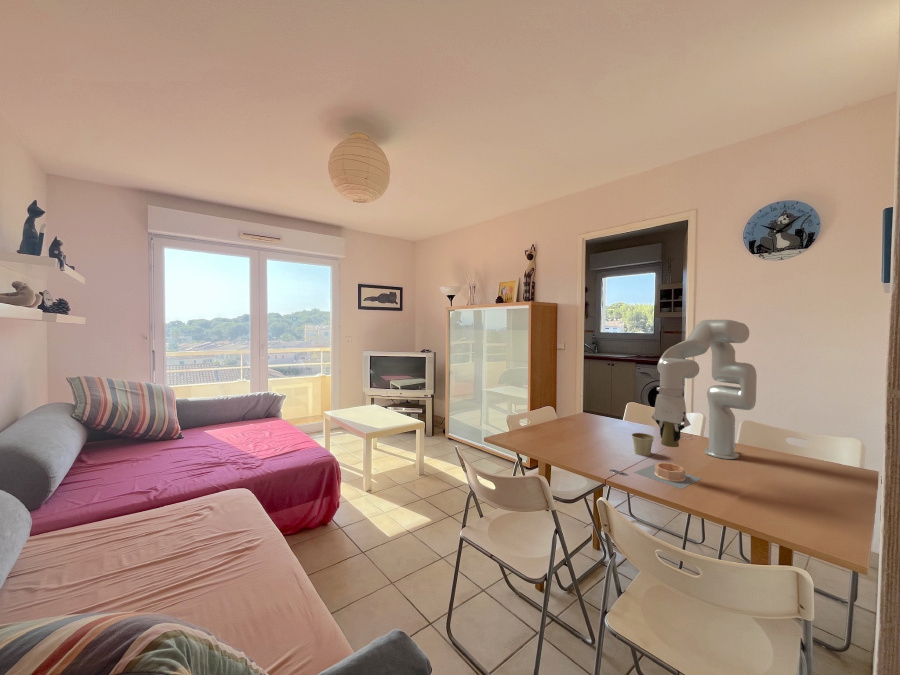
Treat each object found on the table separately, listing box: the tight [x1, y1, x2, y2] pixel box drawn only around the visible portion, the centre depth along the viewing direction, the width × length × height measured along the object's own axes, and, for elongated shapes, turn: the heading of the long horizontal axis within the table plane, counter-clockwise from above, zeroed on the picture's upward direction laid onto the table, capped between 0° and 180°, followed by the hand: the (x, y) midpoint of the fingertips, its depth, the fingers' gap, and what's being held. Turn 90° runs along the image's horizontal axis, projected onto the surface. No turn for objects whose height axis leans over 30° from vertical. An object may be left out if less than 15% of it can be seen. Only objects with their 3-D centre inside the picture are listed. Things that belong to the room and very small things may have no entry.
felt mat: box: [633, 463, 703, 490], centre depth 146 cm, size 16×18×1 cm
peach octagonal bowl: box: [655, 462, 686, 482], centre depth 145 cm, size 10×10×4 cm
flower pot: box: [630, 432, 655, 457], centre depth 171 cm, size 9×9×9 cm
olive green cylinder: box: [660, 421, 680, 448], centre depth 145 cm, size 6×6×11 cm
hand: (670, 438), depth 145 cm, fingers closed on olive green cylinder, 4 cm apart
